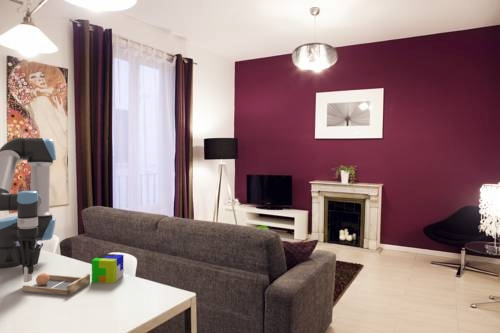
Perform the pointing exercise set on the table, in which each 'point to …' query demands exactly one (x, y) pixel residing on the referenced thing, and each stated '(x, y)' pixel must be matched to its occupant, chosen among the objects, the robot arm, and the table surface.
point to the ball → (42, 279)
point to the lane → (56, 286)
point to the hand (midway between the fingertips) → (28, 280)
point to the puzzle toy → (107, 268)
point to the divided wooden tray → (70, 289)
